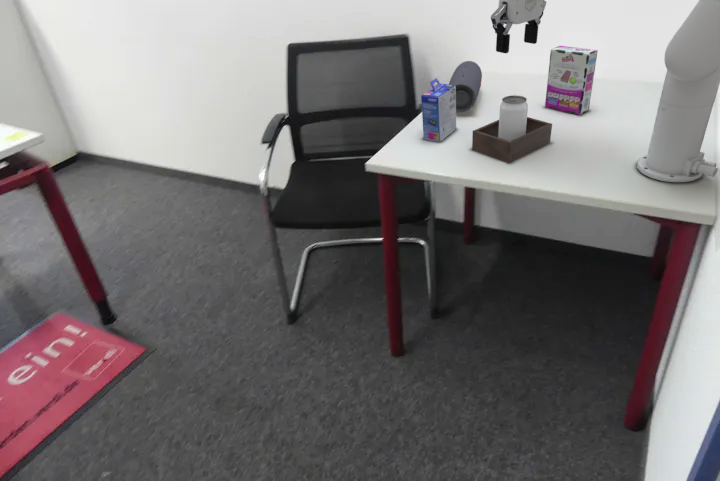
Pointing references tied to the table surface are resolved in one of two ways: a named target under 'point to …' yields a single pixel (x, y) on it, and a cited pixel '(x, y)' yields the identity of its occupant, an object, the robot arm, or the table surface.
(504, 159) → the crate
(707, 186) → the table surface
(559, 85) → the candy bar box
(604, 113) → the table surface
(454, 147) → the table surface
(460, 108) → the bluetooth speaker
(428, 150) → the table surface
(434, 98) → the ink cartridge box
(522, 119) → the can
